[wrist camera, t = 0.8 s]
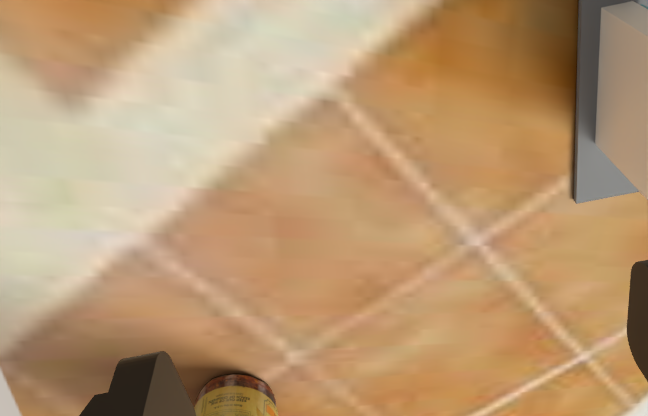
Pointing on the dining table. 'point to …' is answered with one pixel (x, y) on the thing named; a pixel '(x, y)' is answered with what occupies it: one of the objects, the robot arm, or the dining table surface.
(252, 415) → the sauce bottle
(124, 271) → the dining table surface
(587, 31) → the mat
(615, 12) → the tile
